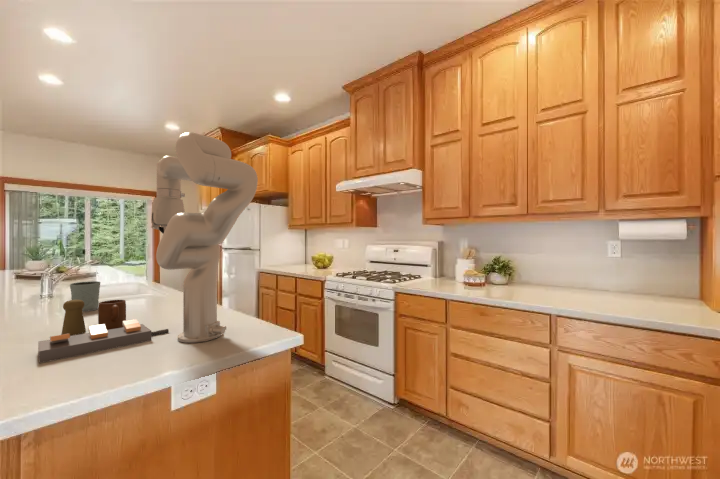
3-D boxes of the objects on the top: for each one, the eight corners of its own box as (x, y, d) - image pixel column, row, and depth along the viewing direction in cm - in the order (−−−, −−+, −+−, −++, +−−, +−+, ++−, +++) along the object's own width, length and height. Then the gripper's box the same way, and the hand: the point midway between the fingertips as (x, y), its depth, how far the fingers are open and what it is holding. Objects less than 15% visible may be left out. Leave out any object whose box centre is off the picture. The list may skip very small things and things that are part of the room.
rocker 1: (68, 340, 88) (67, 333, 88) (69, 340, 84) (69, 333, 84) (50, 343, 85) (50, 336, 85) (51, 343, 81) (51, 336, 81)
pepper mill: (71, 330, 105) (71, 298, 105) (90, 330, 106) (90, 298, 106) (55, 336, 99) (55, 302, 99) (76, 335, 100) (76, 301, 100)
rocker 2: (136, 324, 99) (136, 318, 99) (140, 331, 95) (141, 326, 95) (122, 326, 97) (122, 321, 97) (126, 334, 93) (126, 328, 93)
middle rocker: (104, 329, 94) (104, 323, 93) (107, 338, 90) (107, 332, 89) (88, 331, 91) (88, 326, 91) (91, 341, 87) (91, 335, 87)
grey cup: (96, 306, 143) (96, 280, 143) (103, 309, 138) (103, 282, 138) (67, 310, 135) (67, 283, 135) (73, 313, 129) (73, 285, 129)
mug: (130, 331, 105) (130, 303, 105) (101, 336, 100) (101, 306, 100) (123, 324, 113) (123, 298, 113) (96, 328, 108) (96, 301, 108)
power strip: (163, 329, 107) (163, 320, 107) (173, 335, 100) (173, 326, 100) (38, 352, 85) (38, 341, 85) (39, 363, 78) (39, 351, 78)
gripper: (187, 198, 121) (187, 244, 121) (141, 194, 110) (141, 245, 110) (194, 196, 116) (194, 245, 116) (147, 191, 105) (147, 245, 105)
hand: (168, 245), depth 113 cm, fingers closed
